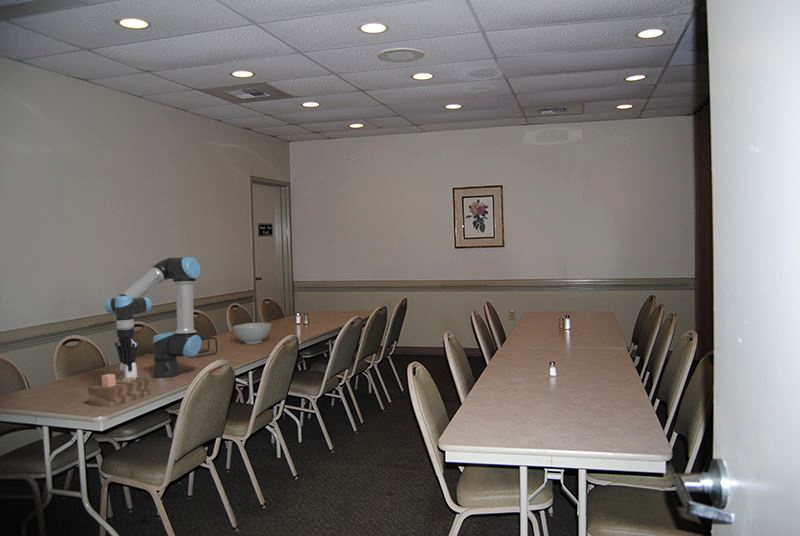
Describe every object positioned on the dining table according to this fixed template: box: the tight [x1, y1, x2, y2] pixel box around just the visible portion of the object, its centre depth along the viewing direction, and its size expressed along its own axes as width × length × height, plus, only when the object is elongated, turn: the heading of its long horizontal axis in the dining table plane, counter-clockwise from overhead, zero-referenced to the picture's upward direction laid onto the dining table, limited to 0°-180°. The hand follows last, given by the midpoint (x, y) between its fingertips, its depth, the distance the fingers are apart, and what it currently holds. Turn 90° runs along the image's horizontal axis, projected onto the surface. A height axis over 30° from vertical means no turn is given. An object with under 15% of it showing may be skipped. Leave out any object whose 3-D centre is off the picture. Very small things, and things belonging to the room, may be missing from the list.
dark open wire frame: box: [190, 323, 219, 359], centre depth 382 cm, size 13×17×22 cm
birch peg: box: [122, 377, 135, 382], centre depth 284 cm, size 4×4×8 cm
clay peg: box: [101, 373, 117, 387], centre depth 273 cm, size 4×4×8 cm
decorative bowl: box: [232, 322, 272, 345], centre depth 424 cm, size 27×27×12 cm
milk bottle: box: [119, 361, 138, 379], centre depth 297 cm, size 8×8×20 cm
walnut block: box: [87, 376, 151, 409], centre depth 279 cm, size 22×14×8 cm, turn 155°
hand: (128, 377), depth 283 cm, fingers closed
